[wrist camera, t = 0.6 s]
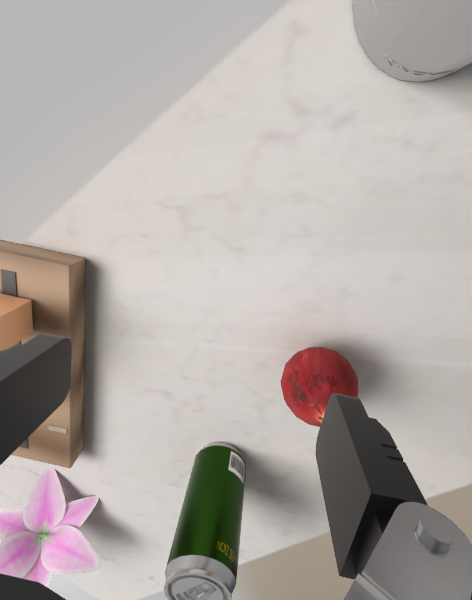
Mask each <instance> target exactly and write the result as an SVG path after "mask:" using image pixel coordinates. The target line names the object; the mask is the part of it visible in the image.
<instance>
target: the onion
mask: <svg viewBox="0 0 472 600" xmlns="http://www.w3.org/2000/svg"><path fill="white" fill-rule="evenodd" d="M281 387H282V391H283V395H284V400H285V402H286V404H287V405H288V407H289V408H290V409H291V411H292V412H293V413H294V414H295V416H296V417H298V418H299V419H301V420H303V421H304V422H306V423H308V424H310V425H314V426H319V427H321V423H322V420H323V417H324V414H325V410H326V407H327V404H328V400H329V398H330V396H331V394H332V393H337V394H342V395H346V396H351V397H356V398H358V379H357V376H356V373H355V372H354V370H353V368H352V367H351V365H350V363H349V362H348V361H347V360H346V359H345V358H344V357H342V356H341V355H340V354H338V353H337V352H335V351H332V350H329V349H326V348H323V347H313V348H307V349H305V350H302V351H299V352H297V353H296V354H295V355H294V356H293V357H292V358H291V359H290V360H289V361H288V362H287V363H286V365H285V368H284V372H283V375H282V379H281Z"/></svg>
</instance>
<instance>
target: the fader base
mask: <svg viewBox="0 0 472 600" xmlns="http://www.w3.org/2000/svg"><path fill="white" fill-rule="evenodd" d="M85 261H86V258H84V257H79V256H74V255H70V254H65V253H60V252H55V251H51V250H46V249H41V248H37V247H32V246H27V245H22V244H18V243H13V242H8V241H4V240H0V293H1V294H6V295H10V296H15V297H19V298H24V299H29V300H31V303H32V321H33V333H31V334H30V335H28V336H27V337H25V338H24V339H23V340H21V341H20V342H18V343H17V344H15V345H14V346H12V347H11V348H13V347H16V346H19V345H23V344H24V343H26V342H28V341H29V340H31V339H33V338H35V337H36V336H38V335H40V334H42V333H46V334H51V335H56V336H61V337H65V338H69V339H70V340H71V343H72V357H71V384H70V389H69V392H68V395H67V397H66V399H65V400H64V402H63V403H62V404H61V405H60V406H59V407H58V408H57V409H56V410H55V411H54V412H53V413H52V414H51V415H50V416H49V417H48V418H47V419H46V420H45V421H44V422H43V423H42V424H41V425H40V426H39V427H38V428H37V429H36V430H35V431H34V432H33V433H32V434H31V435H30V436H29V437H28V438H27V439H26V440H25V441H24V442H23V443H22V444H21V445H20V446H19V447H18V448H17V449H16V450H15V451H14V452H13V453H12V454H11V455H14V456H19V457H23V458H27V459H32V460H36V461H40V462H45V463H49V464H54V465H58V466H62V467H67V468H71V467H72V465H73V464H74V462H75V461H76V459H77V458H78V456H79V455H80V453H81V452H82V450H83V419H84V340H85Z"/></svg>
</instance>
